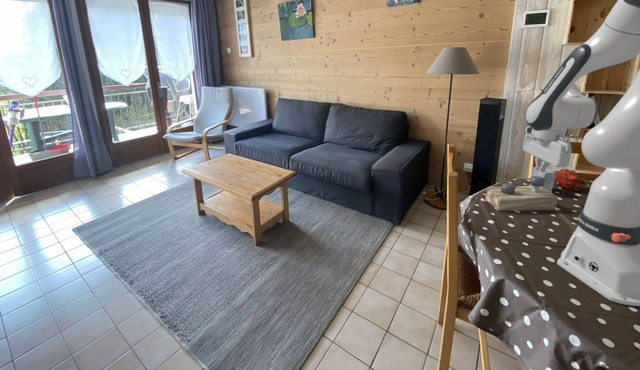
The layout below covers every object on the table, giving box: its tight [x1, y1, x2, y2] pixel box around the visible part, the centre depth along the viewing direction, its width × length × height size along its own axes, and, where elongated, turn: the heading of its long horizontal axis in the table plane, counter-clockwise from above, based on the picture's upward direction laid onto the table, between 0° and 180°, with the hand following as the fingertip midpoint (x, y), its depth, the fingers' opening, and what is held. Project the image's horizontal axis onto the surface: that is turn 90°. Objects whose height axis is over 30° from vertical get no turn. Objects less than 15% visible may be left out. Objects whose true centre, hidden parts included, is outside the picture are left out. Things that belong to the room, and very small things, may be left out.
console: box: [484, 185, 559, 212], centre depth 118 cm, size 10×20×5 cm, turn 90°
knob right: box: [529, 176, 546, 193], centre depth 116 cm, size 4×4×7 cm
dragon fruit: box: [554, 168, 588, 192], centre depth 130 cm, size 8×8×12 cm
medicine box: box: [528, 166, 557, 193], centre depth 129 cm, size 8×4×9 cm, turn 179°
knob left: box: [500, 182, 516, 194], centre depth 118 cm, size 4×4×7 cm
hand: (540, 170), depth 114 cm, fingers closed
